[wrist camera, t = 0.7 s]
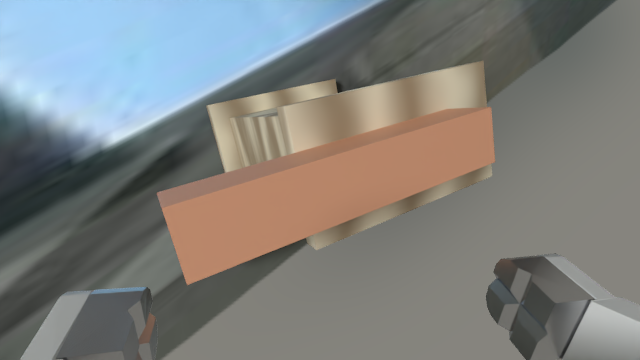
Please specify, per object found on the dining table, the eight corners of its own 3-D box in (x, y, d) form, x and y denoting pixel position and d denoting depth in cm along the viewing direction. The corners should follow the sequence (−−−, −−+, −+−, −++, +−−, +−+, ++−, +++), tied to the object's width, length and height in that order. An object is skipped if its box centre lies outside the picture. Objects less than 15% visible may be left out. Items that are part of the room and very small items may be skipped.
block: (178, 257, 21) (187, 284, 17) (156, 192, 20) (161, 208, 16) (452, 157, 30) (495, 162, 26) (447, 108, 29) (491, 107, 25)
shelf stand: (231, 195, 48) (319, 262, 25) (206, 105, 45) (281, 90, 22) (344, 159, 56) (493, 186, 33) (330, 79, 52) (482, 48, 30)
